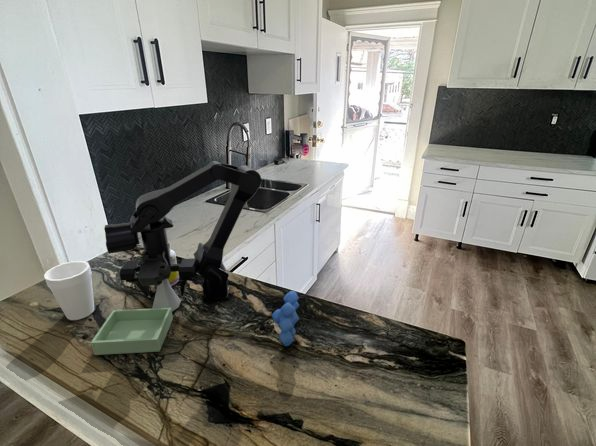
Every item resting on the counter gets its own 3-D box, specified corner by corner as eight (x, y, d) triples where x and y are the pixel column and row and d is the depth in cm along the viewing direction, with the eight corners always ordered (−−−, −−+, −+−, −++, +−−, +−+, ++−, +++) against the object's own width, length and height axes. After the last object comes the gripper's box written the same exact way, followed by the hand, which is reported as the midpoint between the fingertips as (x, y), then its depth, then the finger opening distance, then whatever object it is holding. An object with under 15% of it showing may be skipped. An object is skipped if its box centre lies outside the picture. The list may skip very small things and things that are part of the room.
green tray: (173, 318, 82) (171, 307, 80) (159, 351, 72) (157, 339, 70) (116, 321, 81) (113, 310, 79) (94, 355, 70) (90, 342, 69)
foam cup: (50, 318, 81) (35, 275, 76) (84, 298, 89) (72, 258, 84) (75, 328, 78) (61, 284, 73) (108, 306, 86) (97, 265, 81)
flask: (171, 316, 83) (165, 284, 79) (146, 312, 84) (140, 280, 80) (185, 300, 89) (181, 269, 85) (162, 296, 90) (157, 266, 87)
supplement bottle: (151, 283, 96) (144, 246, 91) (170, 274, 101) (164, 238, 96) (166, 290, 93) (159, 252, 88) (184, 280, 98) (178, 243, 93)
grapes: (277, 319, 82) (276, 280, 78) (302, 322, 81) (303, 283, 77) (265, 352, 72) (264, 310, 67) (294, 356, 71) (295, 313, 66)
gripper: (101, 261, 71) (116, 317, 77) (186, 259, 73) (194, 313, 79) (122, 240, 81) (133, 290, 87) (196, 238, 83) (202, 287, 89)
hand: (165, 295), depth 85 cm, fingers open, 9 cm apart
